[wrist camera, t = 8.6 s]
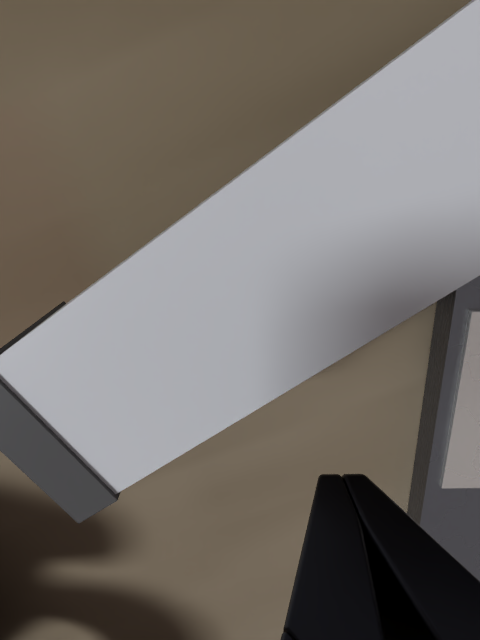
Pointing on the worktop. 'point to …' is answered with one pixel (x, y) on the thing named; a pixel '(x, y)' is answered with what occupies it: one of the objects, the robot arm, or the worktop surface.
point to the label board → (451, 431)
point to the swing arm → (258, 281)
